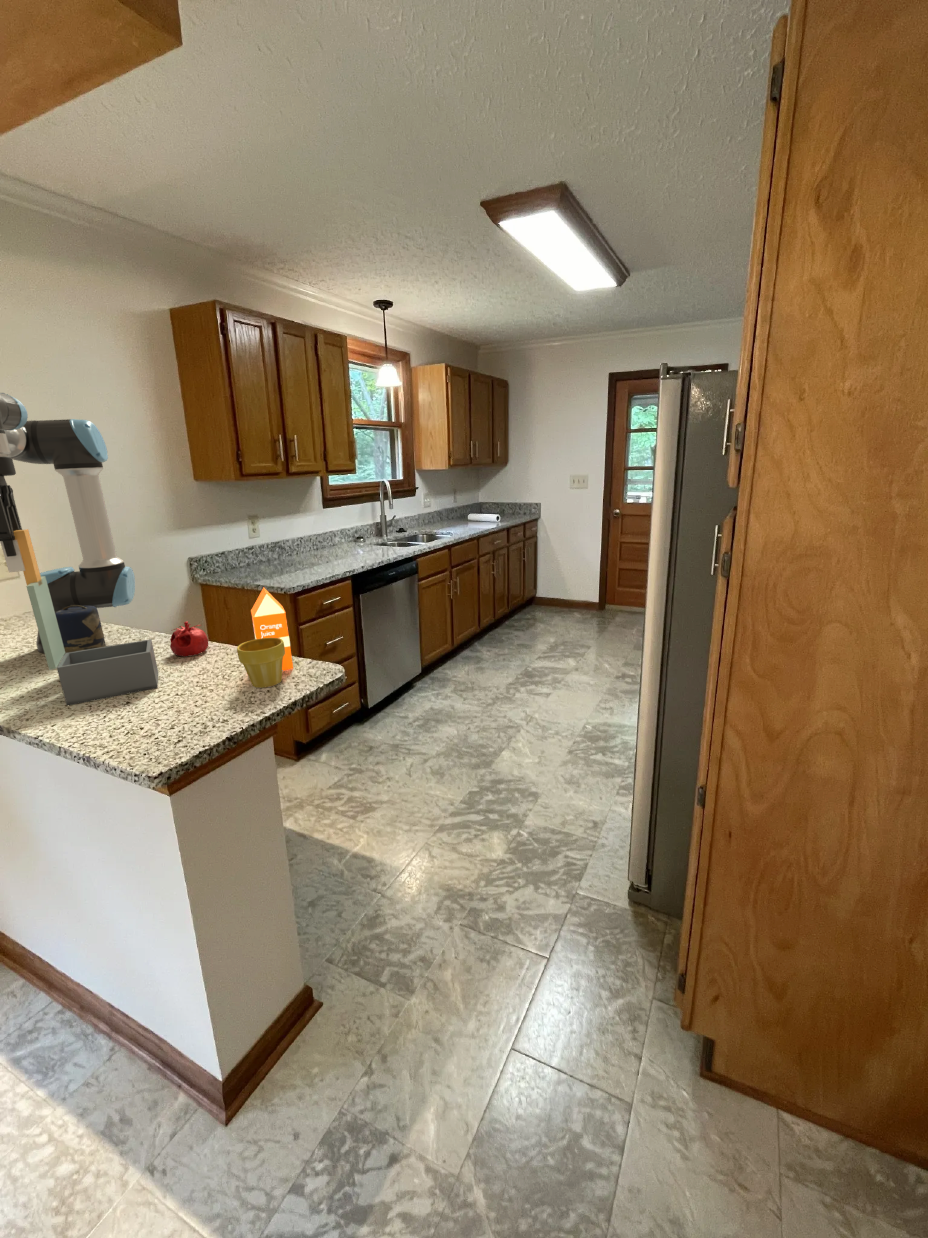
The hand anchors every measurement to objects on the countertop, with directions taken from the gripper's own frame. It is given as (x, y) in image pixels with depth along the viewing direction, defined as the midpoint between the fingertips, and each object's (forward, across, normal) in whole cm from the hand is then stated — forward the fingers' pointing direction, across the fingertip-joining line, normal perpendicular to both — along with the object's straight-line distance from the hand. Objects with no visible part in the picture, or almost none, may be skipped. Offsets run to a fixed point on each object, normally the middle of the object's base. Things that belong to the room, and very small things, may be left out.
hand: (19, 569), depth 119 cm
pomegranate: (+31, -19, +29) cm, 46 cm away
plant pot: (+31, +18, +44) cm, 57 cm away
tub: (+30, 0, +12) cm, 33 cm away
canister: (+31, -18, +5) cm, 36 cm away
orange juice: (+31, +7, +48) cm, 57 cm away
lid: (+7, 0, +3) cm, 7 cm away
